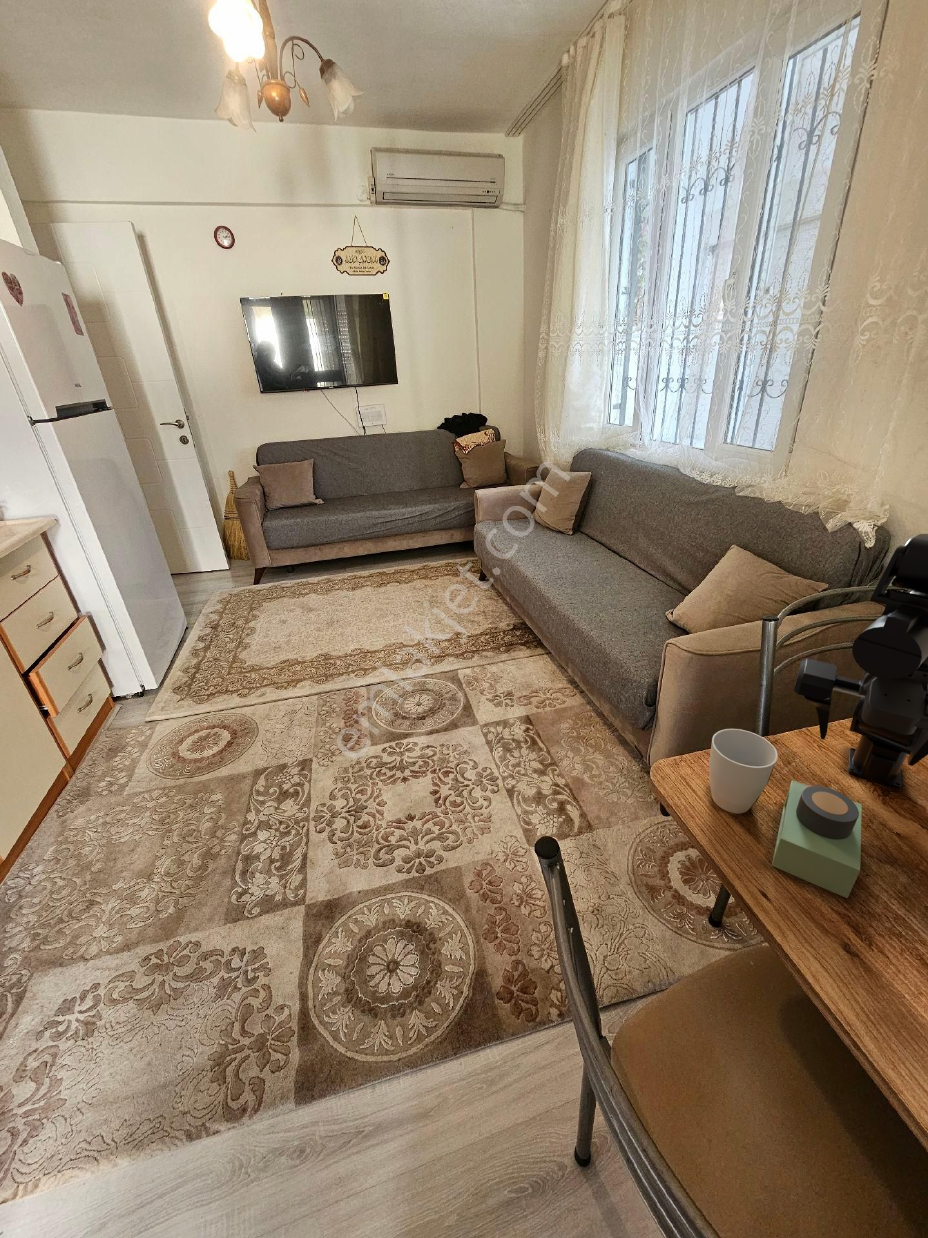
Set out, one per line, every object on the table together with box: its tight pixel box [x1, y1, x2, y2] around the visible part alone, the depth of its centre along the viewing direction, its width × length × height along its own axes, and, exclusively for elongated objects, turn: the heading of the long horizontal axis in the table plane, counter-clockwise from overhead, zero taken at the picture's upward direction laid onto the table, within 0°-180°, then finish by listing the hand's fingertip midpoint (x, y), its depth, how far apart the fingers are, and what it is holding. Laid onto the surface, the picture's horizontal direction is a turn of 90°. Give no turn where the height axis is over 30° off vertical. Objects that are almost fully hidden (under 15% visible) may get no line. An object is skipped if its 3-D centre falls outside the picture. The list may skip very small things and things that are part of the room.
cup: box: [708, 728, 779, 814], centre depth 72 cm, size 8×8×10 cm
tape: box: [796, 785, 859, 839], centre depth 64 cm, size 6×6×3 cm
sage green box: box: [771, 780, 863, 899], centre depth 66 cm, size 12×8×5 cm, turn 144°
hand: (864, 750), depth 66 cm, fingers open, 9 cm apart
